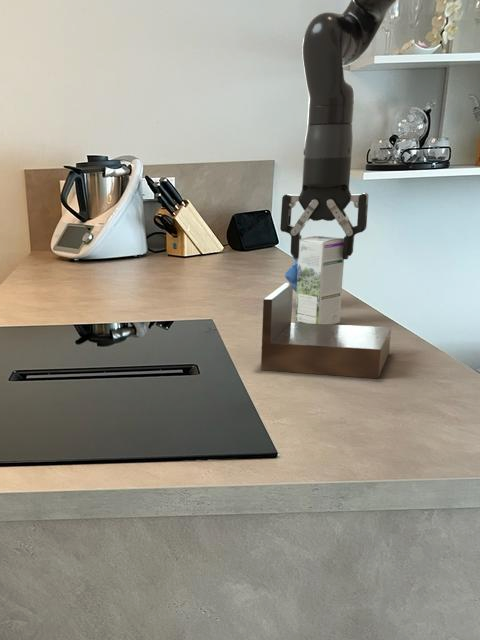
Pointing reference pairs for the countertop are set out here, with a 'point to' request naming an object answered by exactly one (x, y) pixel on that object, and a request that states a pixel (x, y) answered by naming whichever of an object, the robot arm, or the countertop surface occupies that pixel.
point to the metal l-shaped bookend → (319, 343)
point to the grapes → (293, 274)
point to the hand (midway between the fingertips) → (320, 258)
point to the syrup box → (319, 280)
